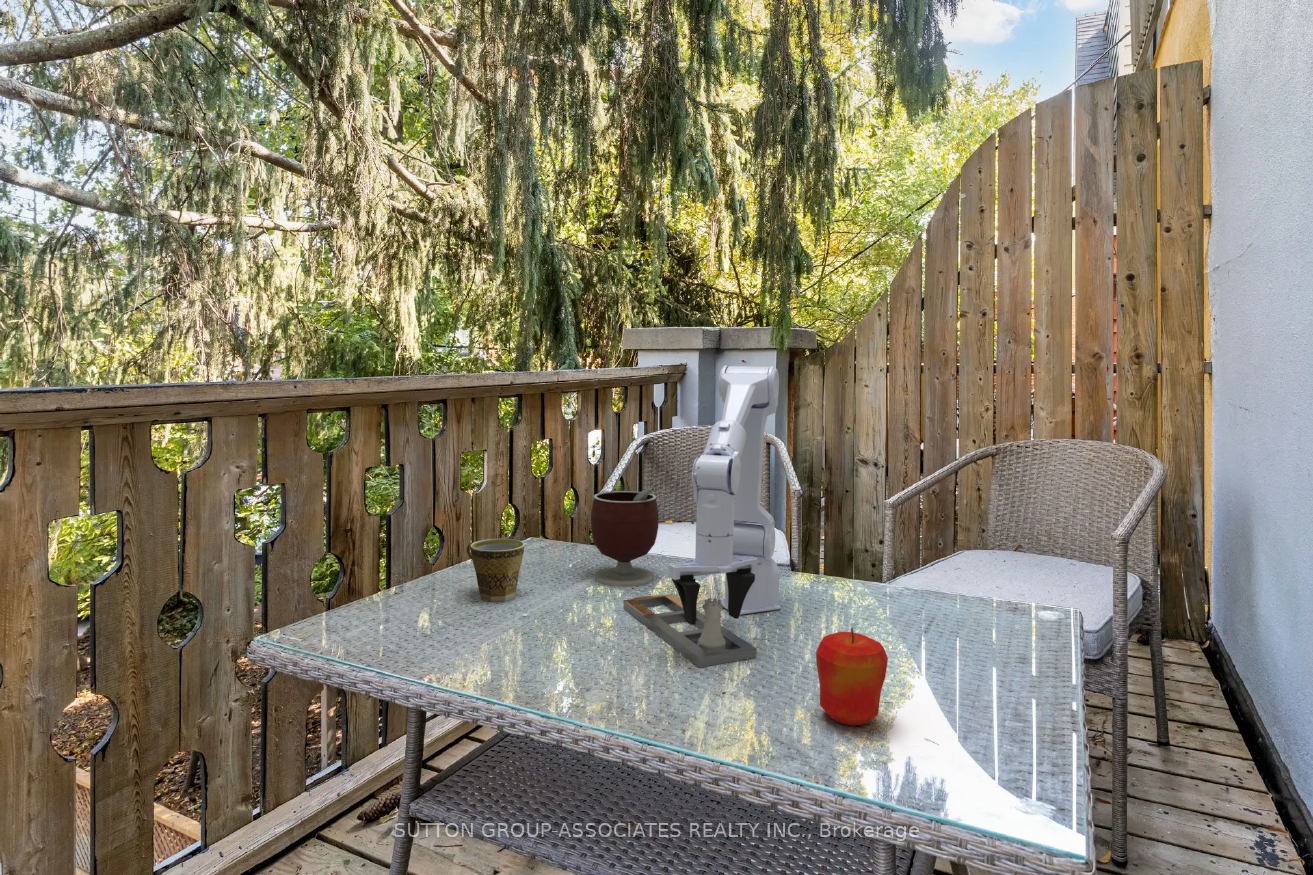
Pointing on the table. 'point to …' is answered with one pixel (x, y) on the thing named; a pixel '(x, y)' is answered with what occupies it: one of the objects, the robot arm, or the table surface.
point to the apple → (850, 676)
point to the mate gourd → (624, 534)
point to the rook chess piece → (712, 627)
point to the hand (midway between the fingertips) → (712, 619)
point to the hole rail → (686, 639)
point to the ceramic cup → (497, 567)
